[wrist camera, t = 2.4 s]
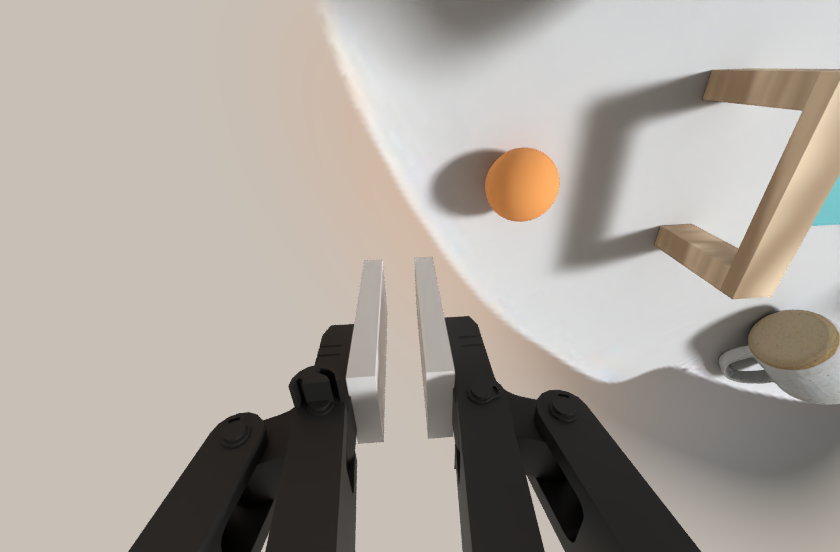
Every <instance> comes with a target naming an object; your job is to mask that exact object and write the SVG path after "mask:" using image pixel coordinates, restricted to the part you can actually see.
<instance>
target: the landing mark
mask: <svg viewBox="0 0 840 552" xmlns="http://www.w3.org/2000/svg"><path fill="white" fill-rule="evenodd" d="M835 224H840V175H839V177H838V178H837V180H836V182H835V184H834V186H833V187H832V189H831V191H830V193H829V195H828V196H827V198H826V200H825V202H824V204H823V205H822V207H821V209H820V211H819V213H818V214H817V216H816V218H815V220H814V222H813V223H812V225H811V226H817V225H835Z"/></svg>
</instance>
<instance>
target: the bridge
mask: <svg viewBox="0 0 840 552" xmlns="http://www.w3.org/2000/svg"><path fill="white" fill-rule="evenodd" d="M702 100H710V101H719V102H728V103H737V104H746V105H755V106H764V107H773V108H782V109H792V110H801V111H802V113H801V116H800V118H799V120H798V122H797V124H796V126H795V129H794V131H793V133H792V135H791V137H790V139H789V142H788V144H787V146H786V148H785V150H784V152H783V154H782V157H781V159H780V161H779V163H778V165H777V167H776V170H775V172H774V174H773V176H772V178H771V180H770V182H769V185H768V187H767V189H766V191H765V193H764V195H763V198H762V200H761V202H760V204H759V206H758V208H757V211H756V213H755V215H754V217H753V219H752V221H751V223H750V226H749V228H748V230H747V232H746V234H745V236H744V239H743V241H742V243H741V245H740V247H739V249H738V248H736V247H734V246H733V245H731V244H729V243H727V242H725V241H723V240H721V239H719V238H718V237H716V236H714V235H712V234H710V233H708V232H706V231H704V230H703V229H701V228H699V227H697V226H695V225H693V224H682V225H664V226H660V229H659V232H658V235H657V238H656V241H655V244H654V245H655V246H656V247H658V248H659V249H660V250H662V251H663V252H665V253H666V254H668V255H669V256H671V257H672V258H673V259H675V260H676V261H678V262H679V263H681V264H682V265H684V266H685V267H686V268H688V269H689V270H691V271H692V272H694V273H695V274H697V275H698V276H699V277H701V278H702V279H704V280H705V281H707V282H708V283H710V284H711V285H712V286H714V287H715V288H717V289H718V290H720V291H721V292H723V293H724V294H725V295H727V296H728V297H730V298H731V299H743V298H759V297H772V295H773V293H774V292H775V290H776V288H777V286H778V284H779V283H780V281H781V279H782V277H783V275H784V274H785V272H786V270H787V268H788V266H789V265H790V263H791V261H792V259H793V257H794V256H795V254H796V252H797V250H798V248H799V247H800V245H801V243H802V241H803V239H804V238H805V236H806V234H807V232H808V230H809V229H810V227H811V225H812V223H813V222H814V220H815V218H816V216H817V214H818V213H819V211H820V209H821V207H822V205H823V204H824V202H825V200H826V198H827V196H828V195H829V193H830V191H831V189H832V187H833V186H834V184H835V182H836V180H837V178H838V177H839V175H840V69H727V70H712V72H711V75H710V78H709V81H708V84H707V87H706V90H705V93H704V96H703V99H702Z"/></svg>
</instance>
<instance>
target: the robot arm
mask: <svg viewBox="0 0 840 552" xmlns="http://www.w3.org/2000/svg"><path fill="white" fill-rule="evenodd" d="M415 281H416V305H417V319H418V329H419V340H420V351H421V364H422V375H423V386H424V398H425V408H426V420H427V431H428V438H441V437H453V431H454V437H455V468H454V469H456V473H457V486H458V498H459V511H460V523H461V536H462V549H463V552H545V551H544V547H543V543H542V539H541V535H540V531H539V527H538V523H537V519H536V515H535V511H534V507H533V503H532V499H531V494H530V491H529V486H528V482H527V478H526V475H527V477H528V479H529V481H530V483H531V484H532V487H533V489H534V491H535V492H536V495H537V497H538V499H539V501H540V503H541V504H542V507H543V509H544V510H545V513H546V515H547V517H548V519H549V521H550V523H551V525H552V527H553V529H554V531H555V533H556V535H557V536H558V539H559V540H560V542H561V545H562V547H563V549H564V550H565V552H701V551H700V550H699V548H698V547H697V546H696V544H695V543H694V542H693V541H692V539H691V538H690V537H689V536H688V534H687V533H686V532H685V530H684V529H683V528H682V527H681V525H680V524H679V523H678V522H677V520H676V519H675V518H674V516H673V515H672V514H671V513H670V511H669V510H668V509H667V507H666V506H665V505H664V504H663V502H662V501H661V500H660V498H659V497H658V496H657V495H656V493H655V492H654V491H653V490H652V488H651V487H650V486H649V485H648V483H647V482H646V481H645V479H644V478H643V477H642V476H641V474H640V473H639V472H638V470H637V469H636V468H635V467H634V466H633V464H632V463H631V461H630V460H629V459H628V458H627V456H626V455H625V454H624V452H622V450H621V449H620V448H619V446H618V445H617V444H616V442H615V441H614V440H613V439H612V437H611V436H610V435H609V433H608V432H607V431H606V429H605V428H604V427H603V426H602V425H601V423H600V422H599V421H598V419H597V418H596V417H595V415H594V414H593V413H592V412H591V411H590V409H589V408H588V407H587V405H586V404H585V403H584V402H583V401H582V400H581V399H579V397H577V396H575V395H573V394H571V393H569V392H566V391H561V390H549V391H547V392H544V393H542V394H541V395H540V397H539V398H538V399H537V400H535V399H530V398H525V397H521V396H517V395H514V394H512V393H510V392H508V391H506V390H505V389H503V387H502V386H501V385H500V384H499V383H498V382H497V381H496V379H495V377H494V374H493V371H492V368H491V365H490V362H489V359H488V356H487V353H486V349H485V346H484V343H483V340H482V337H481V334H480V331H479V327H478V325H477V324H476V323H475V322H474V321H473V320H472V319H471V318H470V317H469V316H464V317H447V318H444V313H443V308H442V303H441V298H440V293H439V288H438V283H437V278H436V272H435V267H434V262H433V257H419V258H415ZM386 344H387V303H386V293H385V281H384V270H383V260H365V261H364V266H363V272H362V278H361V285H360V291H359V297H358V304H357V310H356V316H355V323H354V324H348V325H332V326H330V327H329V329H328V330H327V331H326V332H325V333H324V334H323V336H322V339H321V343H320V348H319V351H318V354H317V358H316V362H315V366H311V367H307V368H306V369H304V370H302V371H300V372H299V373H297V374H296V375H295V376H294V377H293V378H292V380H291V382H290V384H289V390H290V393H291V396H292V399H293V403H294V406H295V407H294V408H293V409H291V410H290V411H288V412H286V413H283V414H281V415H278V416H275V417H272V418H269V419H266V420H262V419H261V418H260V417H259V416H258V415H257V414H253V413H250V412H248V413H238V414H236V415H233V416H231V417H228V418H227V419H225V420H224V421H222V422H221V423H219V424H218V425H217V426H216V427H215V428H214V430H213V431H212V432H211V433H210V434H209V436H208V437H207V439H206V440H205V442H204V443H203V445H202V446H201V447H200V449H199V450H198V452H197V453H196V455H195V456H194V457H193V459H192V460H191V462H190V463H189V465H188V466H187V468H186V469H185V470H184V472H183V473H182V475H181V476H180V478H179V479H178V481H177V482H176V484H175V485H174V487H173V488H172V489H171V491H170V492H169V494H168V495H167V497H166V498H165V499H164V501H163V502H162V504H161V505H160V507H159V508H158V510H157V511H156V512H155V514H154V515H153V517H152V518H151V520H150V521H149V522H148V524H147V525H146V527H145V529H144V530H143V531H142V533H141V534H140V536H139V537H138V539H137V540H136V541H135V543H134V544H133V546H132V547H131V549H130V550H129V552H261V550H262V547H263V545H264V543H265V540H266V538H267V536H268V533H269V537H268V542H267V547H266V551H265V552H355V530H356V529H355V528H356V482H357V481H356V480H357V459H356V454H355V445H356V435H357V440H358V444H360V443H374V442H383V441H384V409H385V407H384V406H385V405H384V404H385V375H386ZM269 531H270V532H269Z"/></svg>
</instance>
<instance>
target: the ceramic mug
mask: <svg viewBox="0 0 840 552" xmlns="http://www.w3.org/2000/svg"><path fill="white" fill-rule="evenodd" d="M752 357H753V358H755V359H756V361H757V362H758V363H759V364H760V365H761V366H762V367H763V368H764V370H759V371H738V370H733V369H730V367H729V364H731V363H733V362H736V361H739V360H742V359H747V358H752ZM719 365H720V368H721V370H722V373H723V374H724V375H725V376H726V377H727V378H728V379H730V380H733V381H736V382H741V383H770V382H774V383H776V384H777V385H778V386H779V387H780V388H781V389H782V390H783V391H784V392H786V393H787V394H789V395H790V396H792V397H794V398H797V399H800V400H803V401H805V402H809V403H815V404H824V405H826V404H840V328H839V327H838V326H837V325H836V324H834V323H833V322H831V321H830V320H829V319H827V318H825V317H823V316H821V315H819V314H816V313H813V312H809V311H803V310H784V311H780V312H776V313H773V314H770V315H768V316H766V317H764V318H762V319H761V320H760V321H758V322H757V323H756V324H755V325H754V326H753V327H752V329H751V331H750V333H749V336H748V345H747V346H741V347H737V348H734V349H732V350H729V351H726V352H725V353H724V354H722V355H721V356H720V358H719Z"/></svg>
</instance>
